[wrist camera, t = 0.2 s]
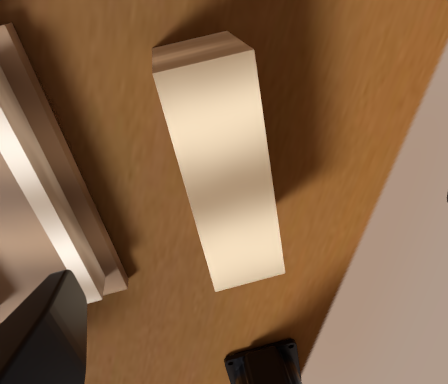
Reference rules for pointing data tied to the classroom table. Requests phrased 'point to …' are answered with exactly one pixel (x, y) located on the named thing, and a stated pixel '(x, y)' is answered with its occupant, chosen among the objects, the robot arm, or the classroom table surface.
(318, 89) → the classroom table surface
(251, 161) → the white block
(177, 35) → the classroom table surface
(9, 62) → the airplane cradle
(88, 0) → the classroom table surface
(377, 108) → the classroom table surface
